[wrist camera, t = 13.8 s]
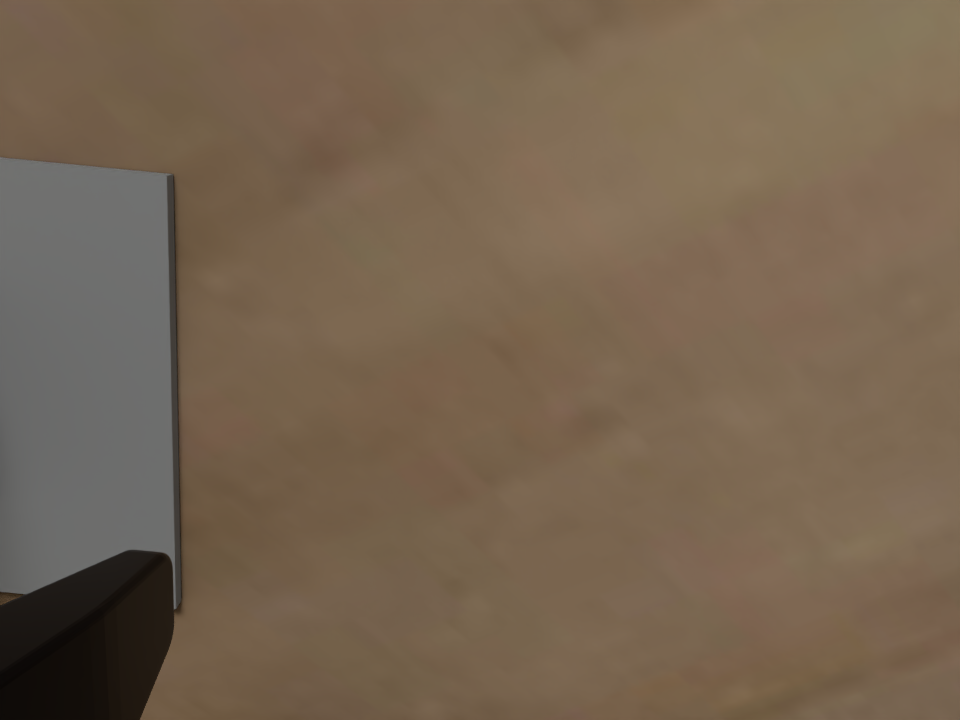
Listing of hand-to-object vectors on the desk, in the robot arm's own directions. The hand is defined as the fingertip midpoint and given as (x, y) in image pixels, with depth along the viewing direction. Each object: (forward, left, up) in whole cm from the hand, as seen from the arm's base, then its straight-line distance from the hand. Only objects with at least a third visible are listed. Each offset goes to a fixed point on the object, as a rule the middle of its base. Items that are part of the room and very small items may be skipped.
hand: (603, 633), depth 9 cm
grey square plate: (+9, +13, -13) cm, 20 cm away
